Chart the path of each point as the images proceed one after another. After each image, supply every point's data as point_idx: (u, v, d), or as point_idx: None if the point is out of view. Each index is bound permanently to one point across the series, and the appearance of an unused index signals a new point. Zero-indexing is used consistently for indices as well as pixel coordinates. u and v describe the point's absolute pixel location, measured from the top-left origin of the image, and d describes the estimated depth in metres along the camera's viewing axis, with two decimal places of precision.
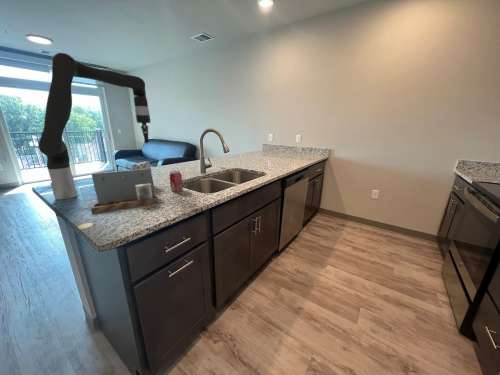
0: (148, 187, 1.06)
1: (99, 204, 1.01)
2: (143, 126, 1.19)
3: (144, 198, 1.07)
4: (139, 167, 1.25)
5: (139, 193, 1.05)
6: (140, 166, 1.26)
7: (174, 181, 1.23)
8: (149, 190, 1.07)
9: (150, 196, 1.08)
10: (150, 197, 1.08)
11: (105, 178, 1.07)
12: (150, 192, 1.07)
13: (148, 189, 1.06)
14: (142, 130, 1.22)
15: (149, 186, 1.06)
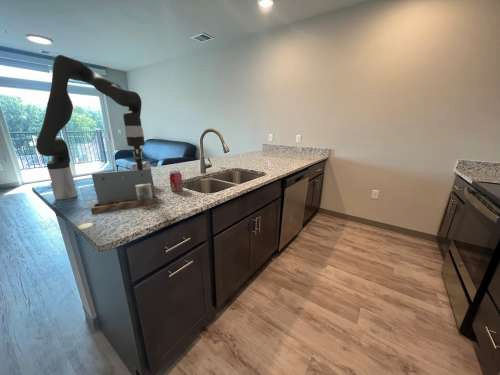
0: (148, 187, 1.06)
1: (99, 204, 1.01)
2: (135, 151, 0.95)
3: (144, 198, 1.07)
4: None
5: (139, 193, 1.05)
6: None
7: (174, 181, 1.23)
8: (149, 190, 1.07)
9: (150, 196, 1.08)
10: (150, 197, 1.08)
11: (105, 178, 1.07)
12: (150, 192, 1.07)
13: (148, 189, 1.06)
14: (134, 155, 0.98)
15: (149, 186, 1.06)
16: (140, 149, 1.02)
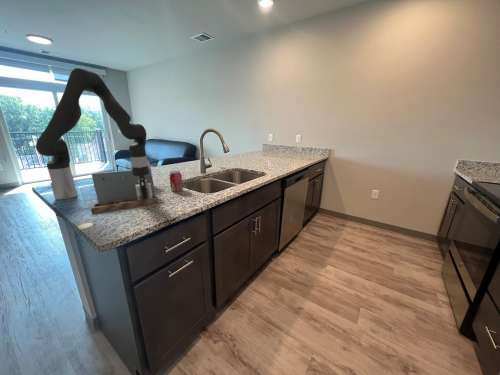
0: (148, 187, 1.06)
1: (99, 204, 1.01)
2: (141, 184, 1.00)
3: None
4: None
5: (139, 193, 1.05)
6: None
7: (174, 181, 1.23)
8: (149, 190, 1.07)
9: (150, 196, 1.08)
10: (150, 197, 1.08)
11: (105, 178, 1.07)
12: (150, 192, 1.07)
13: (148, 189, 1.06)
14: (139, 185, 1.03)
15: (149, 186, 1.06)
16: (144, 177, 1.07)
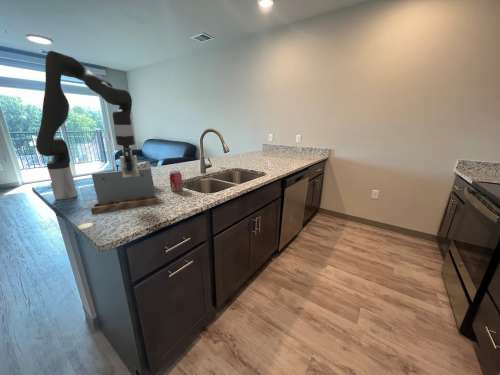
0: (133, 159, 1.00)
1: (99, 204, 1.01)
2: (125, 154, 0.94)
3: None
4: (139, 167, 1.25)
5: (124, 165, 0.99)
6: (140, 166, 1.26)
7: (174, 181, 1.23)
8: (134, 162, 1.01)
9: (135, 169, 1.02)
10: (135, 170, 1.02)
11: (105, 178, 1.07)
12: (136, 164, 1.02)
13: (133, 161, 1.00)
14: (124, 156, 0.97)
15: (134, 158, 1.00)
16: (130, 148, 1.01)
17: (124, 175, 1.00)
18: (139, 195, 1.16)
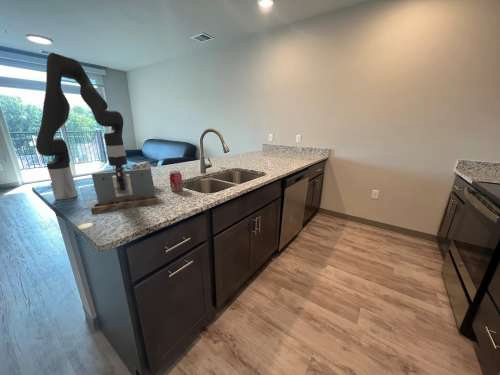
0: (126, 178, 1.01)
1: (99, 204, 1.01)
2: (117, 174, 0.94)
3: (122, 190, 1.01)
4: (139, 167, 1.25)
5: (117, 184, 0.99)
6: (140, 166, 1.26)
7: (174, 181, 1.23)
8: (127, 181, 1.01)
9: (129, 188, 1.02)
10: (129, 189, 1.02)
11: (105, 178, 1.07)
12: (129, 183, 1.02)
13: (126, 180, 1.01)
14: None
15: (127, 177, 1.01)
16: (122, 167, 1.01)
17: (117, 194, 1.01)
18: (139, 195, 1.16)
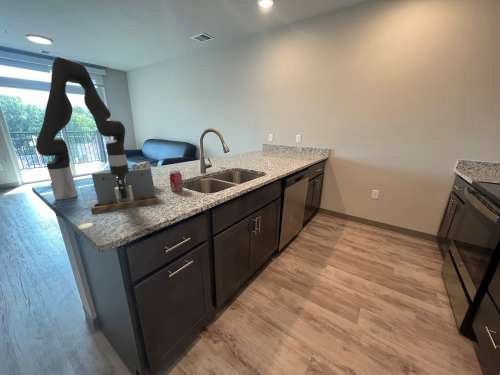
0: (128, 190, 1.02)
1: (99, 204, 1.01)
2: (118, 182, 0.95)
3: (124, 201, 1.03)
4: (139, 167, 1.25)
5: (119, 196, 1.01)
6: (140, 166, 1.26)
7: (174, 181, 1.23)
8: (129, 192, 1.03)
9: (131, 199, 1.04)
10: (131, 200, 1.04)
11: (105, 178, 1.07)
12: (131, 195, 1.04)
13: (128, 191, 1.03)
14: (118, 184, 0.98)
15: (129, 188, 1.03)
16: (124, 176, 1.02)
17: None
18: (139, 195, 1.16)
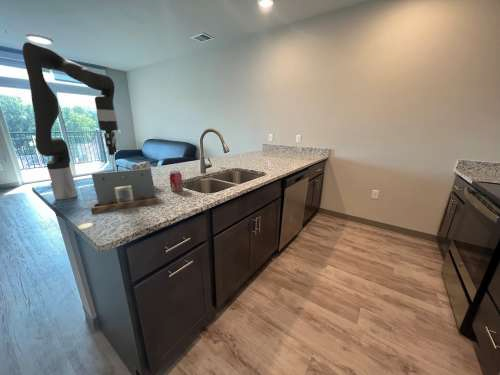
0: (128, 190, 1.02)
1: (99, 204, 1.01)
2: (106, 135, 0.95)
3: (124, 201, 1.03)
4: (139, 167, 1.25)
5: (119, 196, 1.01)
6: (140, 166, 1.26)
7: (174, 181, 1.23)
8: (129, 192, 1.03)
9: (131, 199, 1.04)
10: (131, 200, 1.04)
11: (105, 178, 1.07)
12: (131, 195, 1.04)
13: (128, 191, 1.03)
14: None
15: (129, 188, 1.03)
16: (113, 134, 1.02)
17: None
18: (139, 195, 1.16)
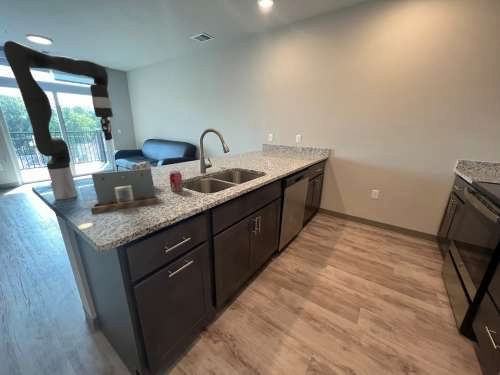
0: (128, 190, 1.02)
1: (99, 204, 1.01)
2: (101, 121, 1.00)
3: (124, 201, 1.03)
4: (139, 167, 1.25)
5: (119, 196, 1.01)
6: (140, 166, 1.26)
7: (174, 181, 1.23)
8: (129, 192, 1.03)
9: (131, 199, 1.04)
10: (131, 200, 1.04)
11: (105, 178, 1.07)
12: (131, 195, 1.04)
13: (128, 191, 1.03)
14: (102, 126, 1.03)
15: (129, 188, 1.03)
16: (108, 121, 1.08)
17: None
18: (139, 195, 1.16)
